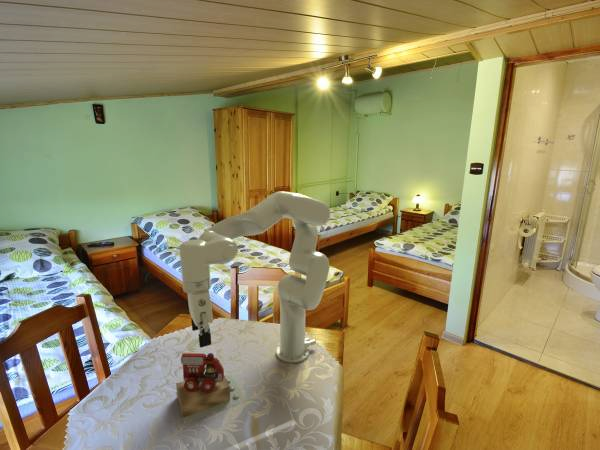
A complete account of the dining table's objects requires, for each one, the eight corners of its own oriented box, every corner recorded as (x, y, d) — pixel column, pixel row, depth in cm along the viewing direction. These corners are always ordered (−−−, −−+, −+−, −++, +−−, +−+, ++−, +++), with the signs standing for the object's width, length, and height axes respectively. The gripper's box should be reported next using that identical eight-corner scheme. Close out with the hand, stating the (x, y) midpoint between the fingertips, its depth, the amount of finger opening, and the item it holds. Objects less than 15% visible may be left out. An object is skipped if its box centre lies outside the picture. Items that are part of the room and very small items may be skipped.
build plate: (231, 377, 111) (231, 372, 111) (245, 404, 99) (245, 399, 99) (176, 395, 102) (175, 391, 102) (184, 427, 90) (184, 422, 90)
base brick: (221, 382, 107) (221, 369, 106) (230, 400, 99) (229, 386, 98) (177, 397, 100) (176, 383, 99) (182, 417, 92) (181, 402, 91)
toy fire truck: (220, 393, 95) (219, 361, 93) (179, 392, 95) (176, 361, 93) (226, 377, 102) (225, 347, 100) (187, 376, 102) (184, 347, 100)
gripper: (218, 291, 86) (222, 348, 90) (203, 271, 100) (207, 320, 104) (189, 298, 82) (194, 357, 86) (177, 275, 97) (182, 326, 101)
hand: (201, 337), depth 95 cm, fingers open, 9 cm apart
